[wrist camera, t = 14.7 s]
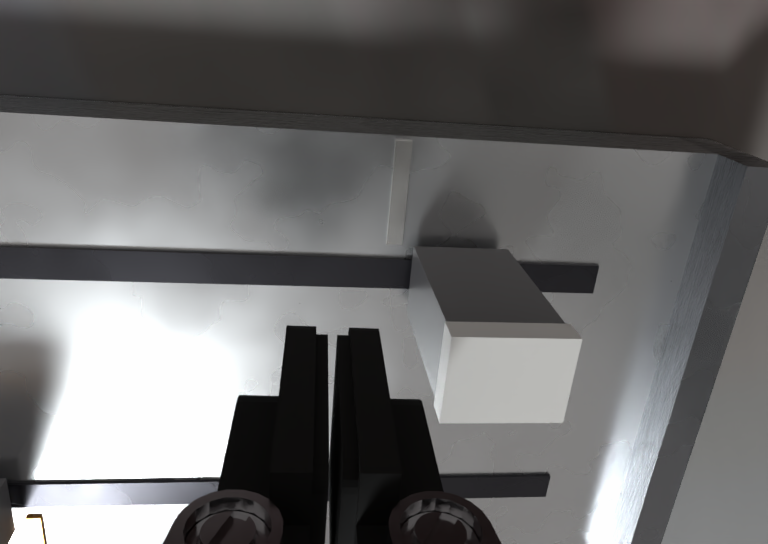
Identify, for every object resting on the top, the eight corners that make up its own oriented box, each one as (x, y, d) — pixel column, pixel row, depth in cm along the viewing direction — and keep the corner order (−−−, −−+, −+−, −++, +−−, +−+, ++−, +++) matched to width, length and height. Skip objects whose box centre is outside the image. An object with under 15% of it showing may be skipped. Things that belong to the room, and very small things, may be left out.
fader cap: (510, 247, 16) (582, 339, 12) (498, 315, 17) (563, 423, 13) (411, 244, 16) (451, 337, 12) (404, 313, 17) (439, 423, 13)
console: (709, 138, 18) (786, 168, 15) (602, 519, 24) (644, 594, 21) (-354, 72, 15) (-514, 95, 12) (-189, 540, 20) (-271, 634, 17)
